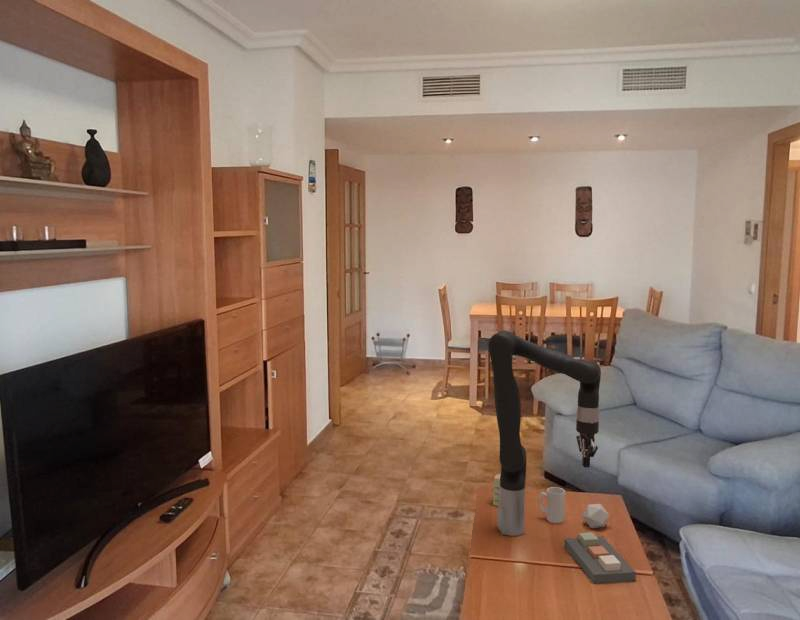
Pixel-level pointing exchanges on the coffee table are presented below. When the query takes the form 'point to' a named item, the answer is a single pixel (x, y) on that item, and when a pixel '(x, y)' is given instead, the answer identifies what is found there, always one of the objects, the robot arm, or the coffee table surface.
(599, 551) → the key terracotta
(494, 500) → the box
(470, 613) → the coffee table surface
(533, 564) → the coffee table surface
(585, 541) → the key sage
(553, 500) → the mug
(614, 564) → the key ivory
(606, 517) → the die
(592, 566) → the key panel
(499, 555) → the coffee table surface
